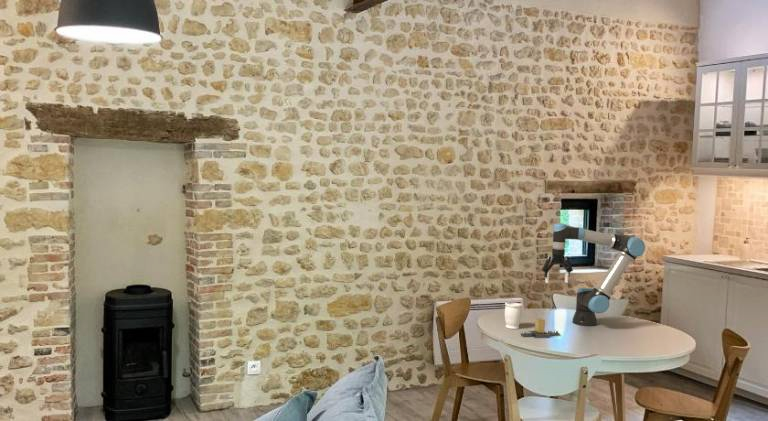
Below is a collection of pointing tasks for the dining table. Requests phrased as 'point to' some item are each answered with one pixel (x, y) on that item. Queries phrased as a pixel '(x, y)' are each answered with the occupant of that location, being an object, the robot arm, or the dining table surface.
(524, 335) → the knobbed square frame
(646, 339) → the dining table surface
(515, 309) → the jar
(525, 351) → the dining table surface
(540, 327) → the gold rectangular block
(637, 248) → the robot arm
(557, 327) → the dining table surface
